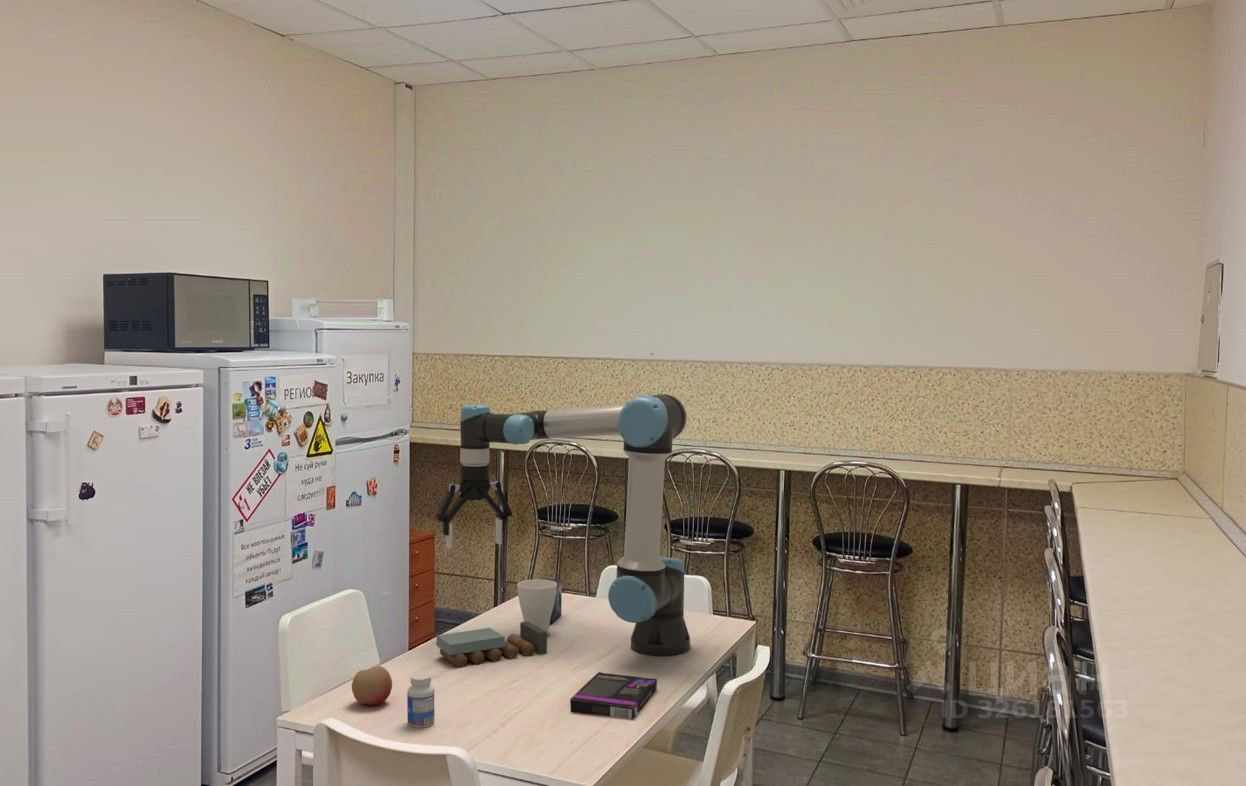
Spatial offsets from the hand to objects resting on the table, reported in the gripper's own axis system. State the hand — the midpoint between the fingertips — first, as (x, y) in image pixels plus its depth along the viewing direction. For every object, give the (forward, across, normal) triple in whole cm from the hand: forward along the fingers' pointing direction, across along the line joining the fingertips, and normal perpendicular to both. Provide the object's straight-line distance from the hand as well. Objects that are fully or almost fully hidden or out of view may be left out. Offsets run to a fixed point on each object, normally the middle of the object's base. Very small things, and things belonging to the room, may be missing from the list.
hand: (474, 545), depth 269 cm
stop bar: (+24, -10, +16) cm, 31 cm away
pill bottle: (+24, +31, +53) cm, 66 cm away
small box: (+24, -24, -8) cm, 35 cm away
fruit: (+24, +37, +37) cm, 58 cm away
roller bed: (+24, +2, +16) cm, 29 cm away
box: (+24, -10, +59) cm, 65 cm away
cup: (+24, -16, +5) cm, 29 cm away
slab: (+21, +7, +17) cm, 28 cm away
